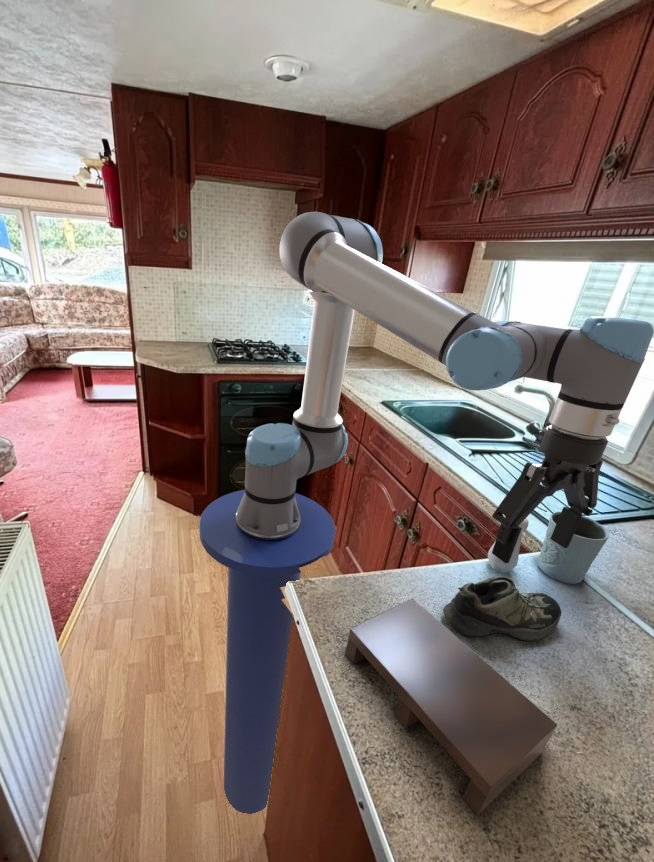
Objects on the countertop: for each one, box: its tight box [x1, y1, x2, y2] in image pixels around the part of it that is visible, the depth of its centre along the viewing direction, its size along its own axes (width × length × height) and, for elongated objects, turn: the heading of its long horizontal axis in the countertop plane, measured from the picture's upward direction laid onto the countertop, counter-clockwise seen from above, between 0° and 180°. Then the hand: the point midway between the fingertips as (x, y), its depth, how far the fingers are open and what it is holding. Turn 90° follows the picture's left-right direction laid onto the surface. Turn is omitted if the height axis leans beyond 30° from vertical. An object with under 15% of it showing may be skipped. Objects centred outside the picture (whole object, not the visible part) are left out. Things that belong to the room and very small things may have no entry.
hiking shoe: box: [442, 575, 562, 642], centre depth 71 cm, size 8×21×9 cm, turn 99°
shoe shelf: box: [344, 598, 558, 817], centre depth 58 cm, size 24×14×6 cm, turn 31°
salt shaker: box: [487, 517, 529, 574], centre depth 86 cm, size 6×6×13 cm
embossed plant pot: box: [537, 511, 610, 585], centre depth 86 cm, size 10×10×12 cm
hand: (530, 550), depth 67 cm, fingers open, 13 cm apart
